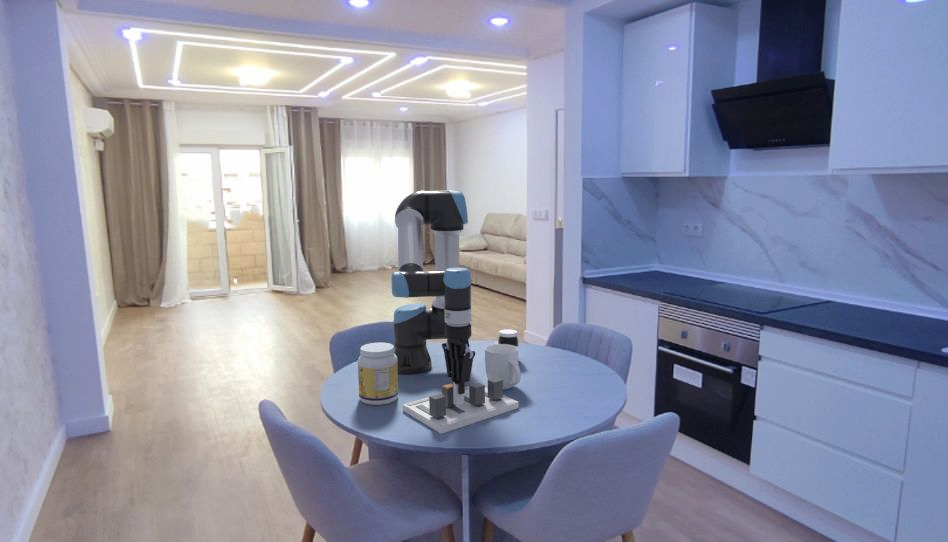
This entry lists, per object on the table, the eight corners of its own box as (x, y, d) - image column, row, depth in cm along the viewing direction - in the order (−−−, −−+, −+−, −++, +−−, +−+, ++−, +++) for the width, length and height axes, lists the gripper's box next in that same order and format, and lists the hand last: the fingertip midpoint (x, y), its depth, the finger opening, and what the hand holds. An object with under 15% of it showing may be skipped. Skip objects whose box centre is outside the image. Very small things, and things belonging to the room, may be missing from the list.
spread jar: (519, 365, 204) (519, 335, 203) (488, 365, 205) (488, 335, 203) (517, 355, 216) (517, 327, 215) (488, 355, 216) (488, 327, 215)
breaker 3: (469, 402, 162) (469, 385, 161) (478, 400, 164) (478, 382, 163) (475, 406, 160) (475, 387, 159) (484, 403, 162) (484, 385, 161)
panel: (403, 410, 163) (402, 403, 163) (477, 389, 180) (477, 383, 180) (441, 433, 147) (441, 426, 147) (518, 408, 164) (518, 401, 164)
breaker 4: (487, 397, 166) (487, 379, 166) (496, 394, 168) (496, 377, 168) (494, 400, 164) (494, 382, 163) (502, 397, 166) (502, 380, 165)
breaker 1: (429, 415, 154) (429, 396, 153) (439, 411, 156) (439, 393, 155) (435, 418, 151) (435, 399, 150) (446, 415, 153) (445, 396, 153)
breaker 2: (442, 404, 161) (441, 385, 160) (451, 401, 163) (451, 383, 162) (448, 407, 159) (447, 388, 158) (457, 404, 161) (457, 385, 160)
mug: (532, 391, 178) (532, 352, 176) (505, 398, 172) (505, 358, 170) (505, 378, 190) (505, 342, 188) (478, 385, 184) (478, 347, 182)
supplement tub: (355, 395, 176) (353, 344, 173) (392, 389, 180) (391, 339, 178) (363, 409, 165) (361, 354, 162) (403, 402, 169) (401, 349, 167)
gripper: (433, 321, 157) (435, 399, 160) (461, 330, 146) (462, 414, 150) (454, 317, 161) (455, 393, 165) (482, 325, 151) (483, 407, 155)
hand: (458, 403), depth 157 cm, fingers closed
